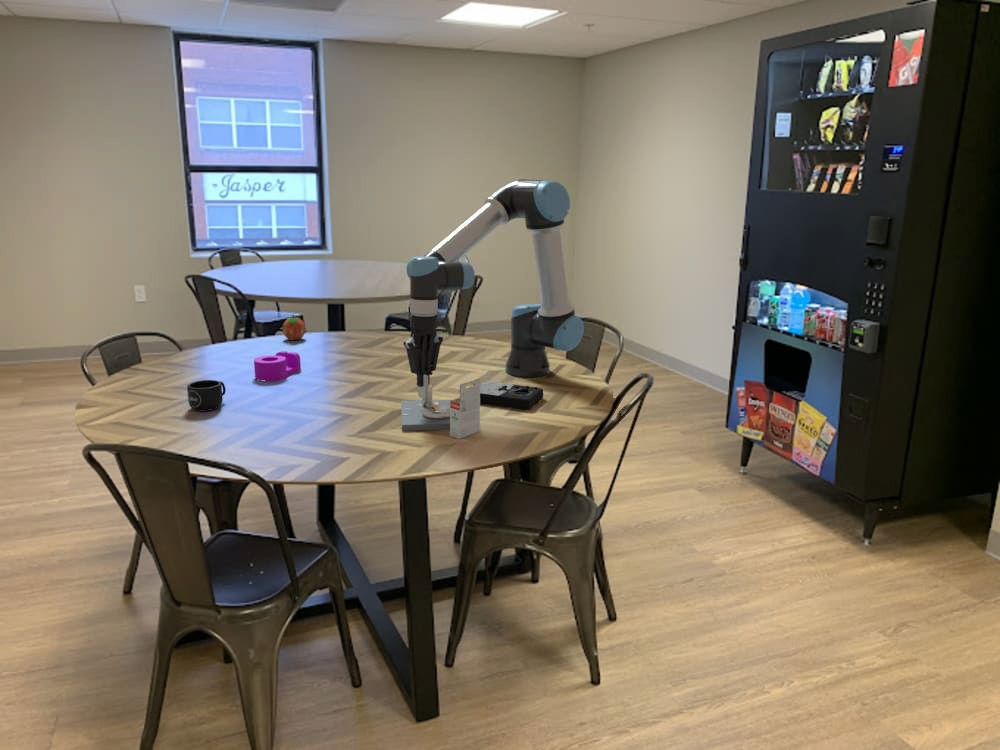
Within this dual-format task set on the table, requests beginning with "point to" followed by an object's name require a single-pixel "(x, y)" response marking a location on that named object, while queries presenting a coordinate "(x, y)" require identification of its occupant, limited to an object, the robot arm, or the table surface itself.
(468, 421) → the ink box
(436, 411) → the dial
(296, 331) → the fruit
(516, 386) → the multimeter
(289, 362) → the tape dispenser
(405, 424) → the panel
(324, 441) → the table surface
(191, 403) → the mug
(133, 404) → the table surface
